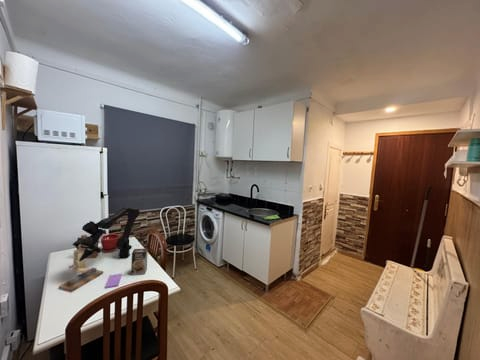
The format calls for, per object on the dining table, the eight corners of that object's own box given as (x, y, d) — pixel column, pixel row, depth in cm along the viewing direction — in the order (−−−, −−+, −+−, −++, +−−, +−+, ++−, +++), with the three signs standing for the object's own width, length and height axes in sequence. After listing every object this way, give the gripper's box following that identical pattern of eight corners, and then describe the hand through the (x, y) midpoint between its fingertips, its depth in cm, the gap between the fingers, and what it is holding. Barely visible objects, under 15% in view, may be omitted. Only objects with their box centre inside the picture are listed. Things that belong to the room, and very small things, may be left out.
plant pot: (108, 254, 154) (108, 240, 153) (97, 251, 159) (97, 237, 158) (123, 248, 166) (123, 235, 166) (112, 245, 171) (112, 232, 170)
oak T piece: (69, 269, 121) (68, 249, 120) (76, 265, 125) (75, 246, 123) (82, 273, 117) (82, 253, 116) (89, 269, 121) (89, 250, 120)
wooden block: (96, 257, 149) (96, 235, 147) (79, 259, 145) (79, 236, 143) (98, 255, 152) (98, 233, 151) (81, 257, 148) (82, 234, 147)
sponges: (121, 275, 129) (121, 273, 129) (118, 287, 118) (118, 284, 118) (109, 277, 127) (109, 274, 126) (104, 289, 115) (104, 286, 115)
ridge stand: (91, 270, 132) (91, 265, 131) (103, 273, 130) (103, 267, 129) (58, 288, 112) (58, 282, 112) (72, 292, 110) (72, 285, 110)
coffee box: (130, 275, 130) (131, 252, 128) (133, 270, 136) (133, 248, 134) (145, 274, 132) (146, 252, 131) (147, 269, 138) (147, 247, 137)
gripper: (75, 229, 125) (55, 252, 116) (96, 234, 120) (77, 259, 111) (87, 236, 134) (70, 259, 124) (108, 241, 129) (91, 265, 119)
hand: (77, 260), depth 119 cm, fingers closed on oak T piece, 4 cm apart
